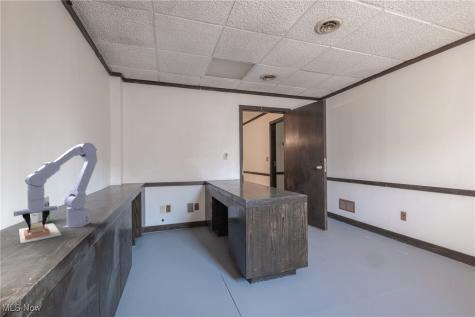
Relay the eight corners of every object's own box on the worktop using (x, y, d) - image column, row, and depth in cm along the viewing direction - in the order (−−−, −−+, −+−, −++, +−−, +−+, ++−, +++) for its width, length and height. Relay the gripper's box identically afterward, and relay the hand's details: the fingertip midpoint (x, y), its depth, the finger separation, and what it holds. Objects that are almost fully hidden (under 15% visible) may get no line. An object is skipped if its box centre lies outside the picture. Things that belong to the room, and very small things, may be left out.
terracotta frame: (24, 233, 99) (23, 229, 99) (46, 228, 105) (46, 225, 105) (25, 239, 91) (25, 236, 91) (49, 234, 97) (49, 231, 97)
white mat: (53, 223, 115) (53, 223, 115) (61, 235, 97) (61, 234, 97) (18, 229, 105) (18, 229, 105) (20, 244, 87) (20, 243, 87)
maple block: (43, 232, 97) (43, 225, 97) (31, 234, 94) (31, 227, 94) (41, 228, 103) (41, 221, 103) (30, 230, 100) (29, 223, 100)
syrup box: (37, 224, 113) (36, 197, 113) (30, 223, 115) (30, 197, 115) (49, 221, 118) (49, 195, 118) (43, 220, 120) (43, 195, 120)
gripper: (55, 196, 106) (55, 222, 106) (13, 200, 96) (13, 230, 96) (57, 197, 101) (58, 225, 102) (13, 202, 91) (14, 234, 91)
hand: (36, 228), depth 98 cm, fingers closed on maple block, 4 cm apart
